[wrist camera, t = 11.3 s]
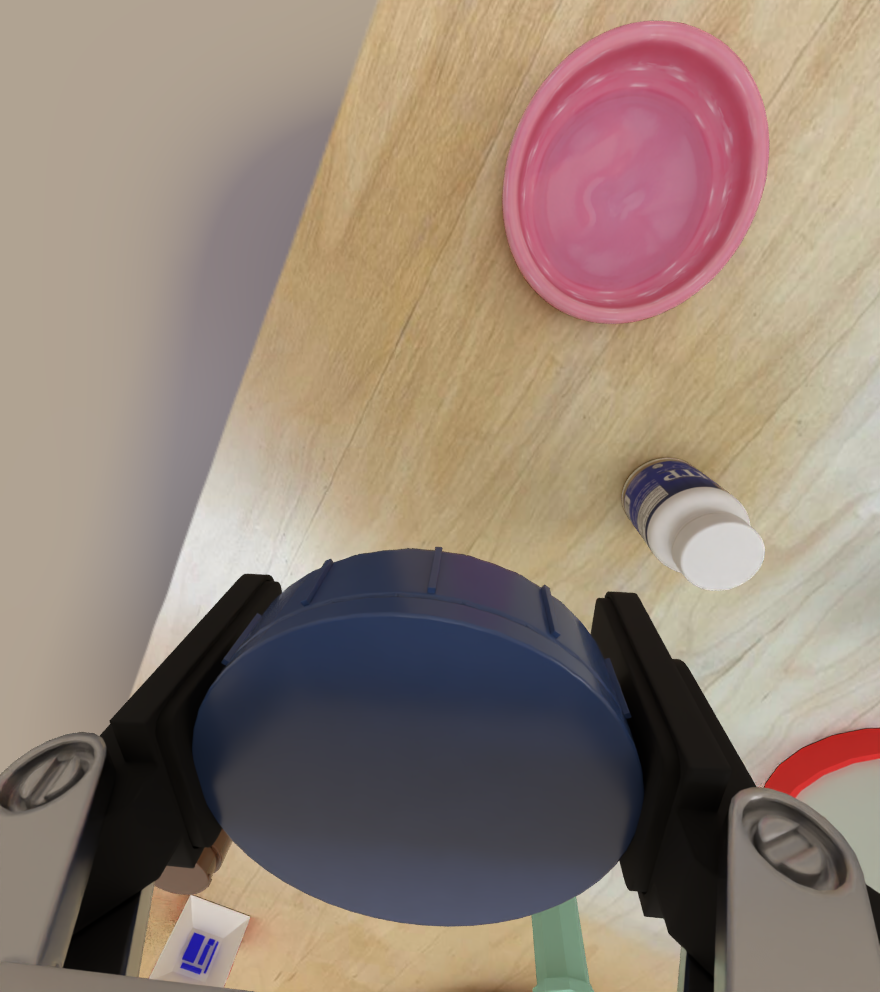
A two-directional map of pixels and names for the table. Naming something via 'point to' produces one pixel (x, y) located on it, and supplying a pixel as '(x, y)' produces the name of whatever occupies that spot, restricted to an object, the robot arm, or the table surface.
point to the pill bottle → (692, 524)
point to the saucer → (635, 172)
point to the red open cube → (202, 945)
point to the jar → (196, 870)
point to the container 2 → (841, 790)
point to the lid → (421, 742)
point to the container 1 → (560, 950)
